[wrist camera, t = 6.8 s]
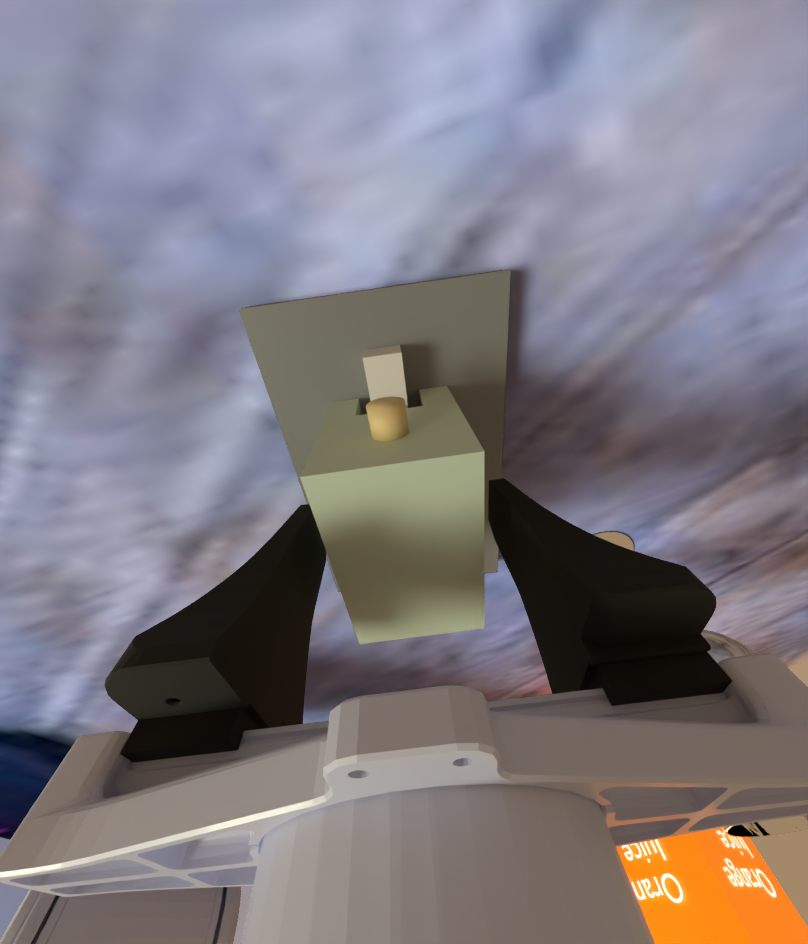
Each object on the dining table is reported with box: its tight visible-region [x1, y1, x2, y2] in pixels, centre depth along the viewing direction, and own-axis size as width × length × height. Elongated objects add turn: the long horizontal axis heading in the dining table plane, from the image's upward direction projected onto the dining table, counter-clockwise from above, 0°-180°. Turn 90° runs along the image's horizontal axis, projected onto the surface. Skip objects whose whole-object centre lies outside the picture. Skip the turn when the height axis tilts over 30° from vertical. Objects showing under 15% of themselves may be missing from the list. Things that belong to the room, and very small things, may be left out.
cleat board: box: [239, 270, 511, 592], centre depth 16 cm, size 16×10×2 cm, turn 7°
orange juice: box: [616, 828, 808, 944], centre depth 24 cm, size 8×9×20 cm
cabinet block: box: [300, 386, 484, 644], centre depth 13 cm, size 9×5×6 cm, turn 7°
